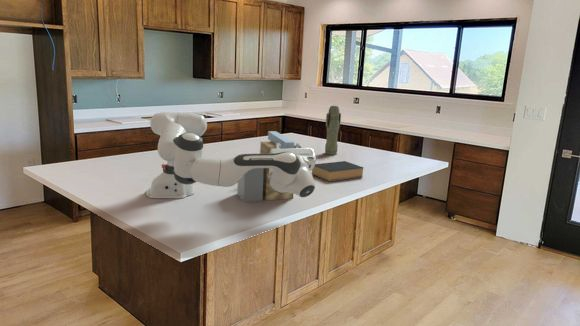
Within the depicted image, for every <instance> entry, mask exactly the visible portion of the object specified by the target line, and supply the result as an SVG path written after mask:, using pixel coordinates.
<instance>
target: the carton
mask: <svg viewBox="0 0 580 326" xmlns="http://www.w3.org/2000/svg"><path fill="white" fill-rule="evenodd" d="M259 144H260V147H259V148H260V149H259V151H260V153H259V154H269V153H270V150H271V149H276V148H277V147H276V144H274V143H273V142H271V141H270V140H269V141H260V143H259ZM294 148H296V144H294ZM280 149H281V148H280ZM273 169H274V168H264V171H263V197H262V199H264V200H265V201H270V200H284V199H285V200H286V199H294V194H293V193H278V192H276V191H274V190H273V189H272V188H271V186H270V178H271V175H272V172H273Z"/></svg>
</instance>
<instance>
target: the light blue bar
mask: <svg viewBox="0 0 580 326" xmlns="http://www.w3.org/2000/svg"><path fill="white" fill-rule="evenodd" d="M267 140H269V142H270V141H271V142H273V143H274V144H277V143H280V144H281V147H280V148H281V149H286V148H294V145H295V141H292V140H291V139H289V138H288V137H286V136H284V135H283V134H281V133H280V132H278V131H277V130H276V131H275V130H274V131H273V130H271V131H270V130H268V132H267Z"/></svg>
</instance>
